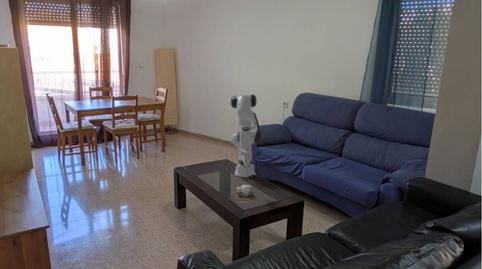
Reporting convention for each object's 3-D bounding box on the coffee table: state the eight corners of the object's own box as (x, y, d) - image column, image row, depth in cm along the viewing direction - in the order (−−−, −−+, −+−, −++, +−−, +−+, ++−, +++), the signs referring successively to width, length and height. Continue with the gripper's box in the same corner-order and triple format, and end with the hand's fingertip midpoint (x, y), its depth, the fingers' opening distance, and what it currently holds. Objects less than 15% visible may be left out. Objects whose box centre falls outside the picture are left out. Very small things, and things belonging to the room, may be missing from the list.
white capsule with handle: (250, 193, 255) (250, 184, 253) (251, 196, 249) (251, 187, 248) (236, 194, 253) (236, 185, 252) (237, 197, 247) (237, 188, 246)
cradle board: (232, 192, 258) (232, 188, 258) (253, 191, 261) (253, 187, 261) (237, 204, 237) (237, 200, 237) (259, 203, 240) (259, 199, 239)
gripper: (239, 146, 254) (239, 163, 257) (242, 153, 234) (243, 172, 237) (247, 146, 255) (248, 163, 258) (251, 152, 235) (251, 171, 238)
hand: (245, 167), depth 247 cm, fingers open, 8 cm apart
